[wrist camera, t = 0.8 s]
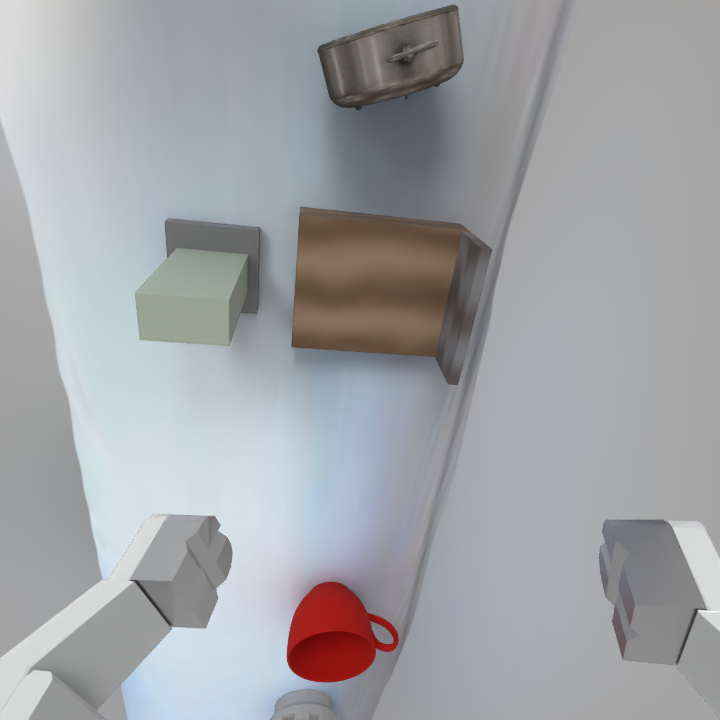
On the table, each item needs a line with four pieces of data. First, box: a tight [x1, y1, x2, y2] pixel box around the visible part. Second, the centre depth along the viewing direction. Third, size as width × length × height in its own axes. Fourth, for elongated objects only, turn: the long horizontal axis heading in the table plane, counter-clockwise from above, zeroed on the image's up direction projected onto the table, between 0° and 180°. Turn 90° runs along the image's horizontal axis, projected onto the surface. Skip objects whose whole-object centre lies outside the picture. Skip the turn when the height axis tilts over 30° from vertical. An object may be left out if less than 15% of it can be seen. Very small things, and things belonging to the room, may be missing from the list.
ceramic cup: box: [287, 582, 399, 682], centre depth 74 cm, size 13×17×10 cm
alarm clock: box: [317, 5, 464, 110], centre depth 36 cm, size 11×5×16 cm, turn 104°
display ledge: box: [292, 207, 492, 385], centre depth 48 cm, size 14×17×10 cm
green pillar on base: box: [135, 218, 260, 346], centre depth 44 cm, size 9×9×14 cm
